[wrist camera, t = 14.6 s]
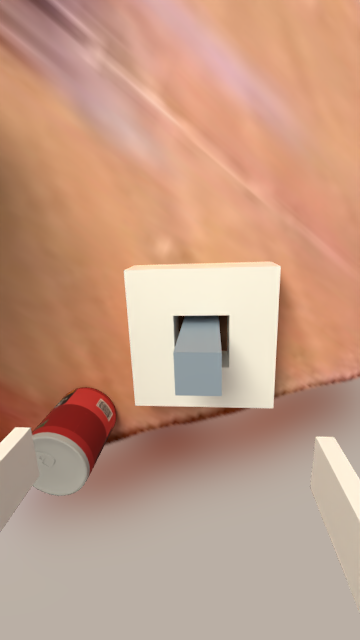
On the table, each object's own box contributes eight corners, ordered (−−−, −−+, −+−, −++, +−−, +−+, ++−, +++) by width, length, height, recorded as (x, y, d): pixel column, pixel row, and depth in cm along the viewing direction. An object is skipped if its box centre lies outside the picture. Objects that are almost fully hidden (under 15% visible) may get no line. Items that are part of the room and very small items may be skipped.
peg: (186, 343, 39) (175, 395, 27) (185, 313, 38) (173, 352, 26) (218, 343, 39) (221, 396, 26) (218, 312, 38) (221, 352, 25)
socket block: (144, 385, 41) (135, 405, 37) (135, 265, 37) (123, 270, 32) (265, 387, 40) (273, 408, 35) (271, 261, 35) (280, 266, 31)
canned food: (68, 378, 42) (20, 426, 32) (123, 395, 42) (94, 450, 32) (58, 423, 44) (11, 483, 34) (111, 440, 44) (80, 505, 34)
